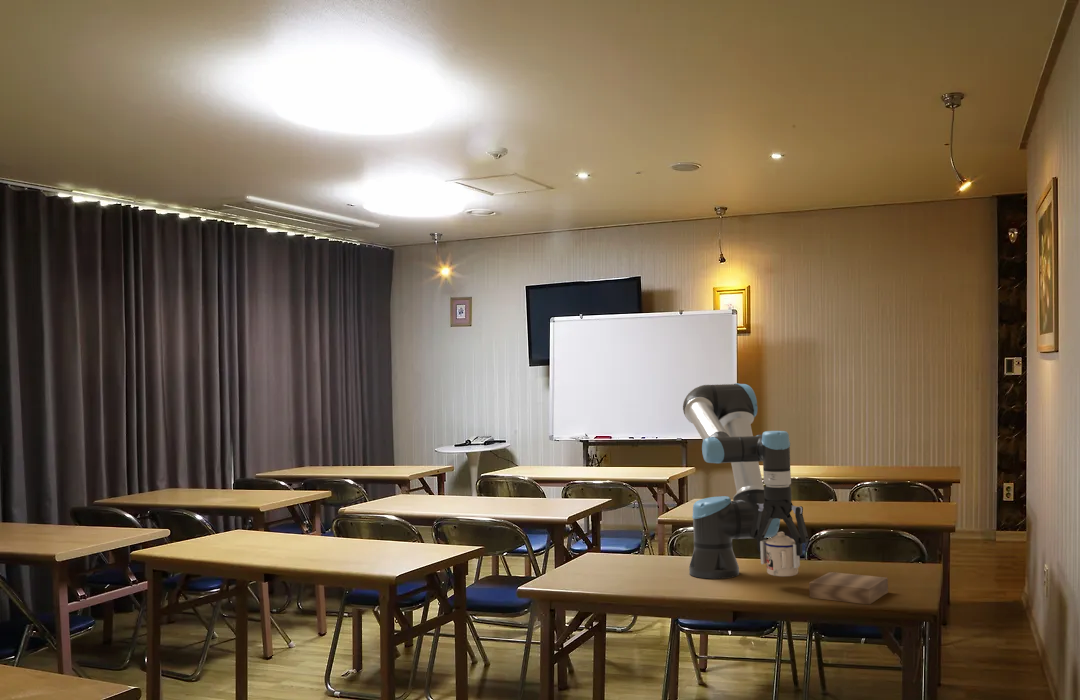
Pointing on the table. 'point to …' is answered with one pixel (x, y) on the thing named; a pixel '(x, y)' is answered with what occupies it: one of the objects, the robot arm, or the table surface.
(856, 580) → the wooden square block
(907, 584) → the table surface
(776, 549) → the teacup with lid
